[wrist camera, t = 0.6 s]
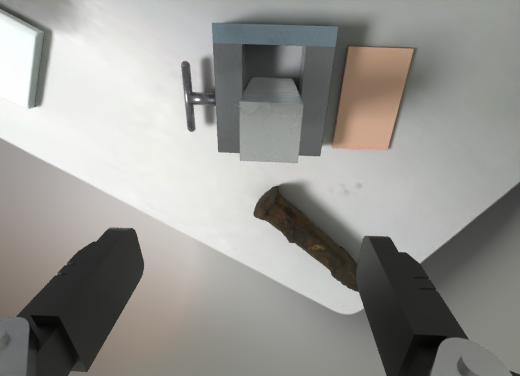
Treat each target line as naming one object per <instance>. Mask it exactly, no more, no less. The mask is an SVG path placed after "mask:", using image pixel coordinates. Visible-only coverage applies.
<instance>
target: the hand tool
mask: <svg viewBox="0 0 520 376" xmlns="http://www.w3.org/2000/svg"><path fill="white" fill-rule="evenodd" d="M254 217H256V218H259V219H261V220H265V221H267V222H269V223H270V224H271V225H273V226H274V227H275V228H277V229H278V230H279V231H281V232H282V233H283V234H284V235H285V236H286V238H287V239H288V241H289V242H290V243H296V244H297V245H298V246H300V247H301V248H302V249H303V250H305V251H306V252H307V253H308V254H310V255H311V256H312V257H313V258H315V259H316V260H317V261H319V262H320V263H322V264H323V265H324V266H325V267H327V268H328V269H329V270H330V271H331V274H332V276H333V277H334V278H335V279H336V280H338V281H340V282H341V283H342V284H343V285H345V286H347V288H349V289H352V290H354V291H358V292H359V290H358V287H357V281H356V270H357V264H356V263H355V261H354V260H353V258H351V256H350V255H349V254H348V253H347V251H346V250H345V249H344V248H343V247H338V246H337V245H336V244H335V243H334V242H333V241H332V240H331V239H330V238H329V237H327V236H326V235H325V234H324V233H323V232H322V231H321V230H320V229H319V228H317V227H316V226H315V225H314V224H313V223H312V222H310V220H309V219H308V218H306V217H305V216H304V215H303V214H302V213H301V212H300V211H299V210H297V209H296V208H295V207H293V206H292V205H291V204H290V203H289V202H287V201H286V200H285V199H284V198H283V197H282V196H281V195H280V193H279V190H278V187H272V188H271V189H270V190H269V191H267V192H266V193H265V194H264V195H263V196H262V197H261V198H260V199H259V201H258V203H257V204H256V207H255V210H254Z"/></svg>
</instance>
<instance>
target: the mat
mask: <svg viewBox="0 0 520 376" xmlns="http://www.w3.org/2000/svg"><path fill="white" fill-rule="evenodd" d="M413 51H414V49H412V48H380V47H348V49H347V55H346V61H345V68H344V74H343V80H342V87H341V93H340V99H339V105H338V112H337V118H336V124H335V131H334V137H333V143H332V148H343V149H368V150H388V146H389V142H390V138H391V135H392V131H393V127H394V123H395V119H396V115H397V112H398V108H399V104H400V100H401V96H402V93H403V89H404V85H405V81H406V77H407V73H408V70H409V66H410V62H411V58H412V54H413Z"/></svg>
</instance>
